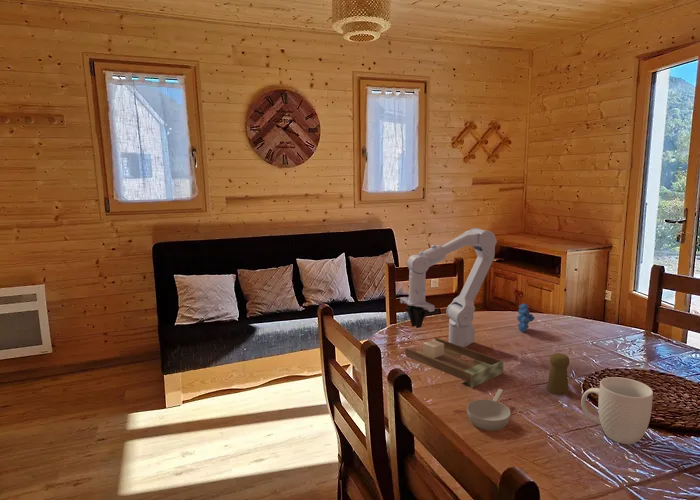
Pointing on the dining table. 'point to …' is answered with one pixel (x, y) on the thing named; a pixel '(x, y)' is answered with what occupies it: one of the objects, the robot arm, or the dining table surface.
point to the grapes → (524, 317)
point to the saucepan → (489, 413)
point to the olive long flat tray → (461, 363)
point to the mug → (622, 408)
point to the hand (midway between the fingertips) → (416, 326)
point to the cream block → (433, 348)
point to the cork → (558, 374)
